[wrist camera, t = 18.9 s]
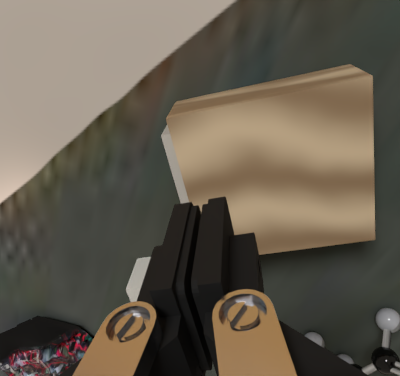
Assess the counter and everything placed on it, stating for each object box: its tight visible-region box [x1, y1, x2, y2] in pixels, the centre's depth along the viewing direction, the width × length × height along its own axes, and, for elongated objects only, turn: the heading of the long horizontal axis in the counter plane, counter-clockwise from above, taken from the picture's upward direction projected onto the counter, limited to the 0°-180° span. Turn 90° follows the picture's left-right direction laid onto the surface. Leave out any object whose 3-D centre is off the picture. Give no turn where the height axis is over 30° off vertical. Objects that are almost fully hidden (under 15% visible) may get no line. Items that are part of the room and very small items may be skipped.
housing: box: [166, 64, 375, 255], centre depth 31 cm, size 14×15×5 cm
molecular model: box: [304, 308, 400, 376], centre depth 38 cm, size 8×12×11 cm
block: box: [126, 257, 151, 302], centre depth 39 cm, size 5×5×5 cm
